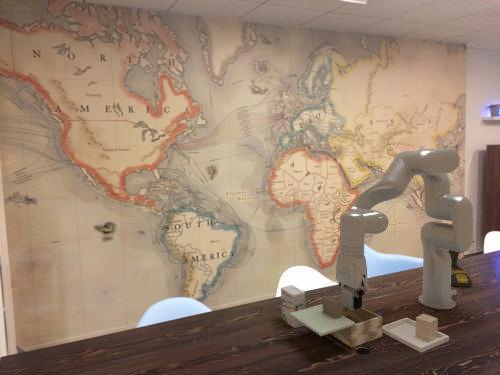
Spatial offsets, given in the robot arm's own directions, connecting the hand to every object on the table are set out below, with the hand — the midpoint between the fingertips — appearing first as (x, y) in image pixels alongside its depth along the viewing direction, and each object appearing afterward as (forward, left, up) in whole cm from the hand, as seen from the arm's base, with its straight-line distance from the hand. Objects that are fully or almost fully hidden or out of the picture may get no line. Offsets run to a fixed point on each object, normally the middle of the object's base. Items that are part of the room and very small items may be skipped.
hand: (351, 304), depth 115 cm
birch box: (+1, 0, -9) cm, 9 cm away
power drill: (-70, -7, -10) cm, 71 cm away
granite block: (0, 0, -1) cm, 1 cm away
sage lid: (+13, 0, -2) cm, 13 cm away
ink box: (+12, -16, -10) cm, 22 cm away
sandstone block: (-17, +15, -9) cm, 24 cm away
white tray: (-14, +13, -9) cm, 21 cm away
